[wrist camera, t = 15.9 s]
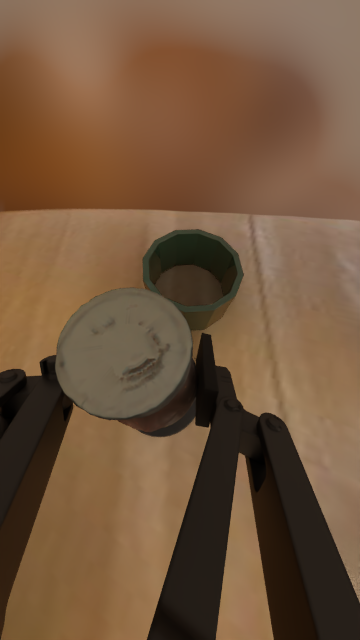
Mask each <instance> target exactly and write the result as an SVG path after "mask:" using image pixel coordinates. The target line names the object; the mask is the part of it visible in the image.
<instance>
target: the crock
mask: <svg viewBox="0 0 360 640" xmlns="http://www.w3.org/2000/svg"><path fill="white" fill-rule="evenodd" d="M193 264H194V265H196V266H199V267H201V268H204V269H206V270H209V271H210V272H211V273H212V274H213V275H214V276H215V277H216V279H217V280H218V281H219V282H220V283H221V286H222V291H223V296H224V297H222V298H221V299H219V300H218V301H216V302H215V303H213V304H212V305H199V306H184V305H182V304H179V303H177V302H175V301H172V300H170V299H168V300H169V301H171V302H172V303H174V304H175V305H176V307H177V308H178V310H179V311H180V312H181V313H182V314H183V316H184V317H185V319H186V321H187V324H188V326H189V328H190V331H191V330H203V329H206V328H207V327H209V326H210V325H212V324H213V323H215V322H216V321H218V320H219V319H220V318H222V317H223V315H224V313H225V312H226V310H227V309H228V307H229V306H230V304H231V302H232V301H233V299H234V298H235V296H236V294H237V291H238V289H239V286H240V283H241V281H242V278H243V276H244V274H243V270H242V266H241V263H240V259H239V255H238V253H237V252H236V251H235V250H234V249H233V248H232V247H231V246H230V245H229V244H228V243H227V242H226V241H225V240H224V239H223V238H221V237H219V236H216V235H213V234H210V233H208V232H205V231H202V230H199V229H196V230H176V231H173V232H171V233H169V234H167V235H165V236H163V237H161V238H159V239H157V240H155V241H154V242H153V244H152V245H151V247H150V248H149V250H148V251H147V253H146V254H145V256H144V257H143V281H144V286H145V289H147V290H149V291H152V292H155V293H157V294H159V295H161V293H160V292H159V291H158V290H157V288H156V287H155V286H154V285H155V283H156V282H157V280H158V278H159V277H160V275H161V274H162V273H163V272H165V271H167V270H169V269H171V268H172V267H174V266H176V265H193ZM161 296H162V295H161ZM166 299H167V298H166Z"/></svg>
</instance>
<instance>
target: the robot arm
mask: <svg viewBox="0 0 360 640" xmlns="http://www.w3.org/2000/svg"><path fill="white" fill-rule="evenodd" d="M55 364H56V355H53V356H49V357H46V358H44V359H43V360H41V361H40V367H41V373H42V375H41V376H26V374H25V372H24V370H21V369H11V370H6V371H4V372H1V373H0V639H1V636H2V631H3V627H4V621H5V613H6V607H7V602H8V599H9V596H10V592H11V589H12V586H13V584H14V581H15V578H16V575H17V572H18V569H19V566H20V563H21V560H22V557H23V554H24V551H25V548H26V545H27V542H28V540H29V537H30V534H31V531H32V528H33V525H34V522H35V519H36V516H37V513H38V510H39V507H40V504H41V501H42V498H43V496H44V493H45V490H46V487H47V484H48V481H49V478H50V475H51V472H52V469H53V466H54V463H55V460H56V457H57V454H58V452H59V449H60V446H61V443H62V440H63V437H64V434H65V431H66V428H67V425H68V422H69V419H70V416H71V413H72V410H73V401H72V400H71V399H70V398H69V397H68V396H67V395H66V394H65V393H64V391H63V390H62V388H61V386H60V384H59V381H58V379H57V374H56V370H55ZM196 367H197V372H198V388H197V393H196V417H195V425H197V426H203V427H209V424H210V425H211V429H210V432H209V436H208V439H207V442H206V446H205V449H204V452H203V455H202V459H201V462H200V465H199V469H198V472H197V475H196V479H195V482H194V485H193V489H192V492H191V495H190V499H189V502H188V505H187V508H186V512H185V515H184V518H183V522H182V525H181V528H180V532H179V535H178V538H177V542H176V545H175V548H174V551H173V555H172V558H171V561H170V565H169V568H168V571H167V575H166V578H165V581H164V585H163V588H162V591H161V595H160V598H159V601H158V604H157V608H156V611H155V614H154V618H153V621H152V624H151V628H150V631H149V634H148V637H147V640H216V631H217V623H218V615H219V607H220V599H221V591H222V583H223V575H224V567H225V558H226V550H227V542H228V534H229V526H230V518H231V510H232V502H233V494H234V486H235V478H236V470H237V462H238V454H239V453H241V454H243V455H245V458H246V464H247V470H248V477H249V483H250V490H251V496H252V502H253V509H254V515H255V522H256V528H257V534H258V541H259V547H260V554H261V560H262V566H263V573H264V579H265V586H266V592H267V599H268V605H269V611H270V618H271V624H272V631H273V637H274V640H360V603H359V600H358V598H357V595H356V593H355V591H354V588H353V586H352V583H351V581H350V578H349V576H348V574H347V571H346V569H345V566H344V564H343V561H342V559H341V557H340V554H339V552H338V549H337V547H336V544H335V542H334V540H333V537H332V535H331V532H330V530H329V528H328V525H327V523H326V520H325V518H324V515H323V513H322V511H321V508H320V506H319V503H318V501H317V498H316V496H315V494H314V491H313V489H312V486H311V484H310V481H309V479H308V477H307V474H306V472H305V469H304V467H303V464H302V462H301V460H300V457H299V455H298V452H297V450H296V448H295V445H294V443H293V440H292V438H291V435H290V433H289V431H288V428H287V426H286V425H285V423H284V422H283V421H282V420H281V419H280V418H279V417H277V416H275V415H273V414H271V413H263V414H261V416H260V417H258V416H256V415H253V414H251V413H249V412H247V411H246V410H244V409H243V406H242V404H241V403H240V402H239V401H238V400H237V398H236V394H235V390H234V386H233V382H232V379H231V374H230V372H229V371H228V369H227V368H226V367H221V366H215V360H214V353H213V346H212V339H211V335H209V334H204V333H202V335H201V340H200V345H199V349H198V354H197V359H196Z"/></svg>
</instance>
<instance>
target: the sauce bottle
mask: <svg viewBox="0 0 360 640" xmlns="http://www.w3.org/2000/svg"><path fill="white" fill-rule="evenodd" d="M192 355H193V340H192V335H191V331H190V328H189V326H188V324H187V321H186V319H185V317H184V316H183V314H182V313H181V312H180V311H179V310H178V308H177V307H176V305H175V304H174V303H172V302H171V301H169V300H168V299H166V298H165V297H163V296H161V295H159V294H157V293H155V292H152V291H149V290H147V289H138V288H121V289H115V290H111V291H108V292H105V293H103V294H101V295H99V296H96V297H94V298H93V299H91V300H90V301H89V302H88V303H86V304H84V305H82V306H81V307H80V308H79V309H78V310H77V311H76V312H75V313H74V314H73V315H72V316H71V318H70V319H69V320H68V322H67V323H66V325H65V327H64V328H63V330H62V332H61V334H60V337H59V340H58V345H57V355H56V364H55V370H56V374H57V379H58V381H59V384H60V386H61V388H62V390H63V391H64V393H65V394H66V395H67V396H68V397H69V398H70V399H71V400H72V401H73V403H74V404H75V405H76V406H78V407H79V408H81V409H83V410H85V411H86V412H88V413H89V414H90V415H94V416H96V417H99V418H103V419H107V420H118V421H119V422H121V423H123V424H125V425H128V426H130V427H132V428H134V429H138V430H142V431H144V432H153V431H155V430H158V429H160V428H163V427H166V426H169V425H171V424H173V423H175V422H177V421H178V420H179V419H181V418H182V417H183V416H184V415H185V414H186V413H187V411H188V410H189V409H190V407H191V405H192V403H193V402H194V399H195V396H196V393H197V388H198V372H197V367H196V365H195V362H194V360H193V358H192Z"/></svg>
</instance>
